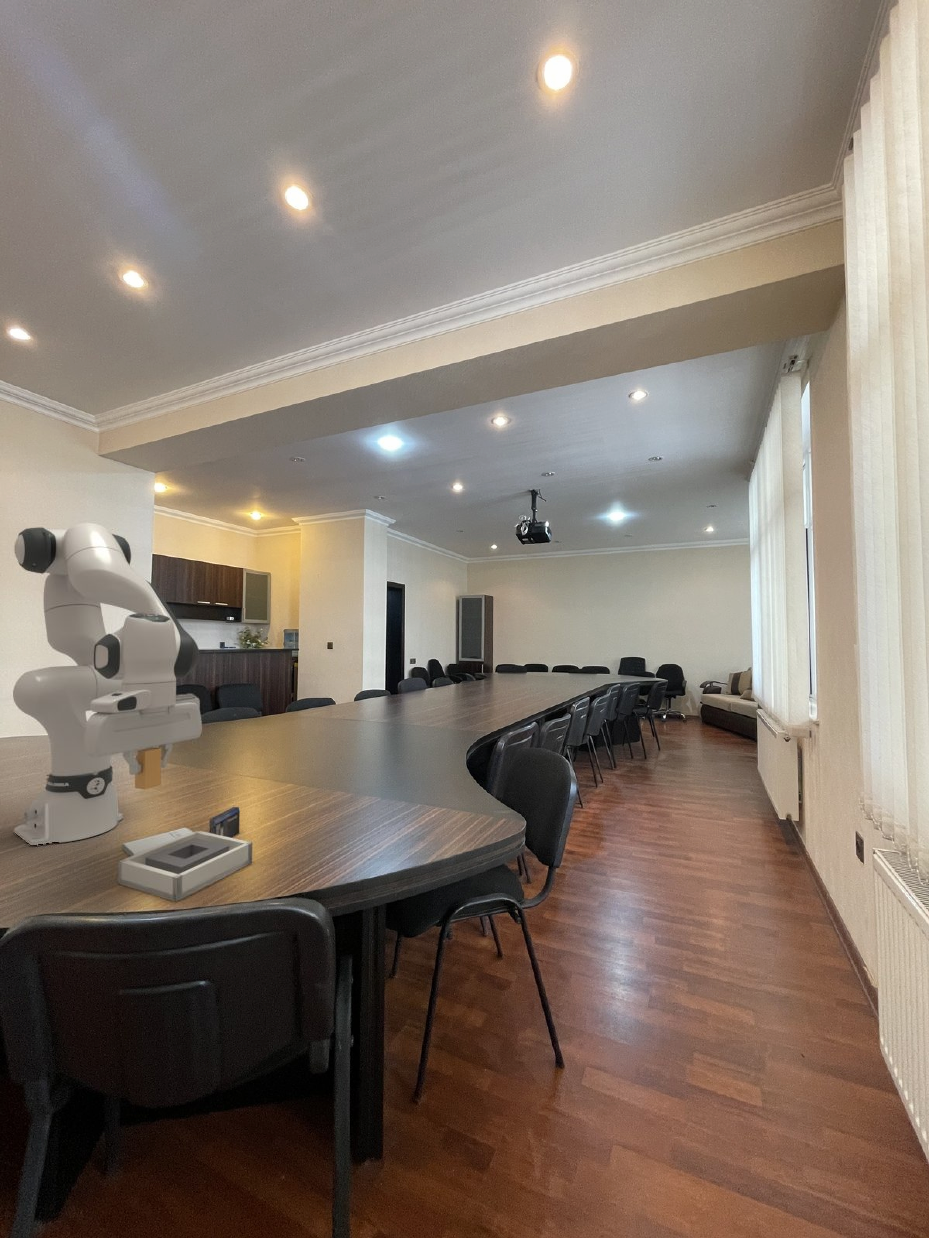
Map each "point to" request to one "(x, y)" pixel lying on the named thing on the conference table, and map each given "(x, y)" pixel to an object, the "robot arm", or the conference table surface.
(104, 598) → the robot arm
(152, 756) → the tan rectangular block
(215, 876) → the walled box
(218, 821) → the mini dv tape
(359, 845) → the conference table surface
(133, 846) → the external hard drive
